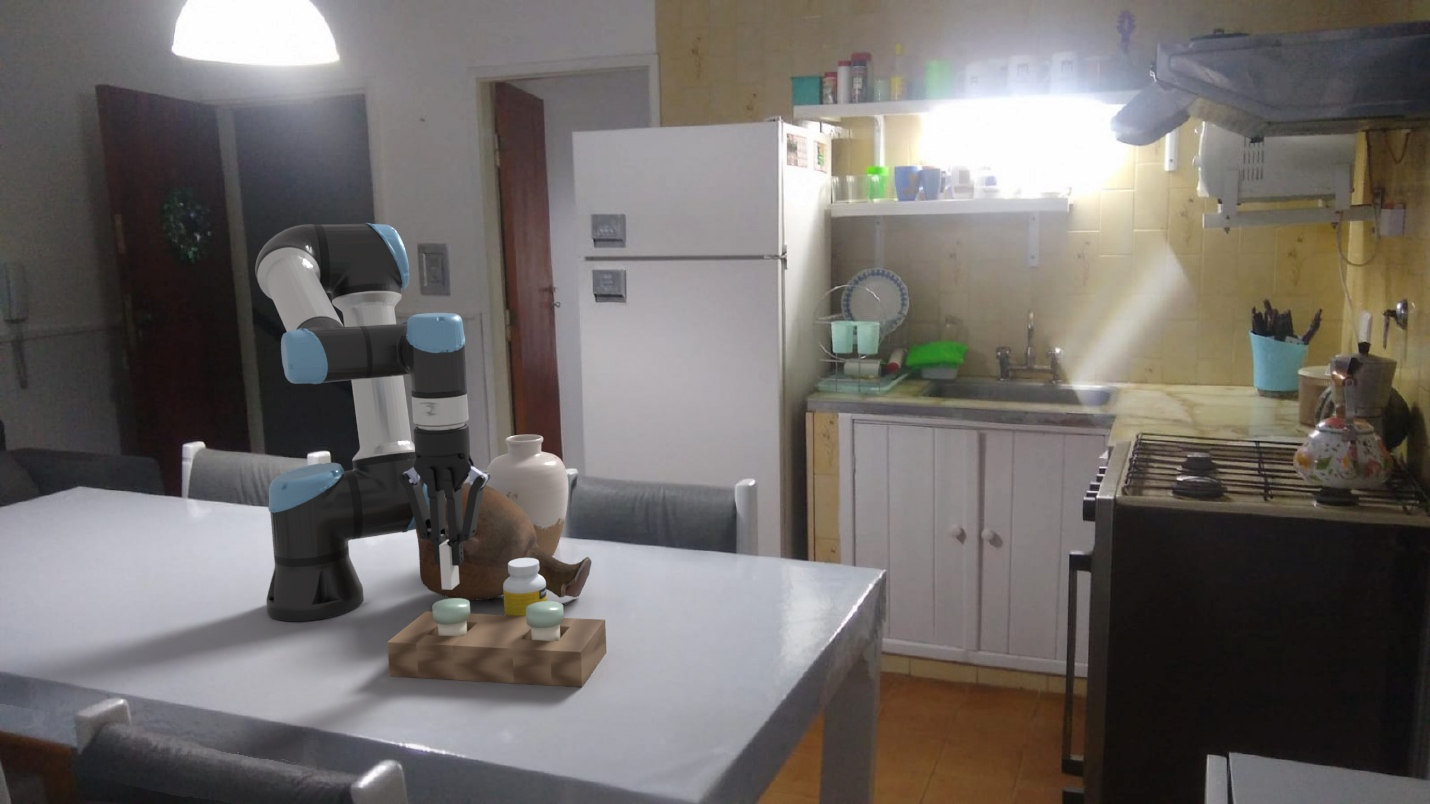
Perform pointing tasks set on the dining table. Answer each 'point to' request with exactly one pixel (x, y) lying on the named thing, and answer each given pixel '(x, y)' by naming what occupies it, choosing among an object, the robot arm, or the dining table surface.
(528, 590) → the pill bottle
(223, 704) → the dining table surface
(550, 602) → the knob
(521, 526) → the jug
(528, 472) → the vase
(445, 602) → the knob
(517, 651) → the mount
